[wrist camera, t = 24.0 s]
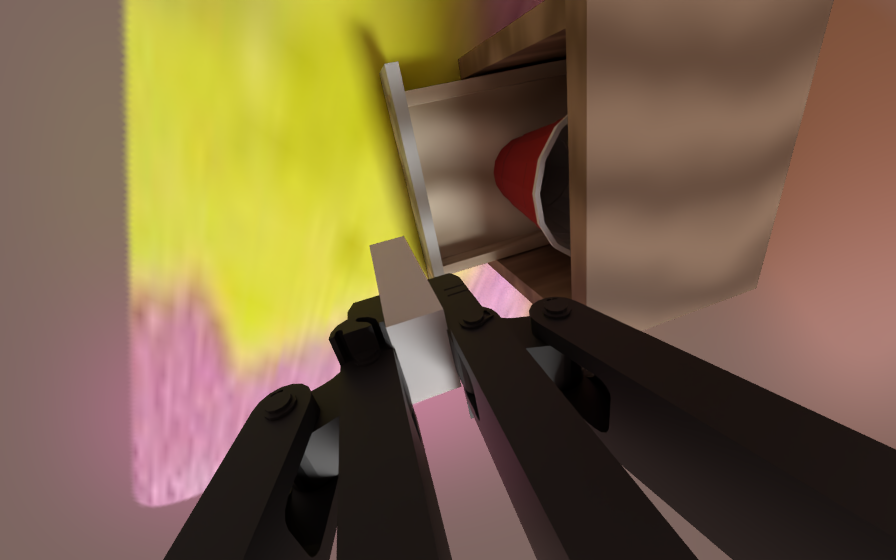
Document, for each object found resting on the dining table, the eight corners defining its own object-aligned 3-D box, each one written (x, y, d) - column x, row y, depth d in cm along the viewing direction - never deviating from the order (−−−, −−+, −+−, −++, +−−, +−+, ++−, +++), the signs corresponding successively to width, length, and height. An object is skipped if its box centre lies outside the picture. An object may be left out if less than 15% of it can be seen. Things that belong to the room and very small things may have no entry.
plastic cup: (582, 188, 35) (685, 210, 24) (496, 241, 34) (563, 287, 24) (551, 82, 30) (665, 52, 19) (450, 143, 29) (510, 147, 19)
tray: (379, 73, 27) (384, 63, 23) (587, 34, 30) (619, 21, 26) (430, 283, 35) (439, 299, 32) (587, 235, 39) (611, 245, 35)
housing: (458, 59, 28) (586, -29, 13) (603, 32, 30) (851, -68, 16) (488, 264, 37) (586, 351, 22) (599, 230, 39) (756, 288, 24)
